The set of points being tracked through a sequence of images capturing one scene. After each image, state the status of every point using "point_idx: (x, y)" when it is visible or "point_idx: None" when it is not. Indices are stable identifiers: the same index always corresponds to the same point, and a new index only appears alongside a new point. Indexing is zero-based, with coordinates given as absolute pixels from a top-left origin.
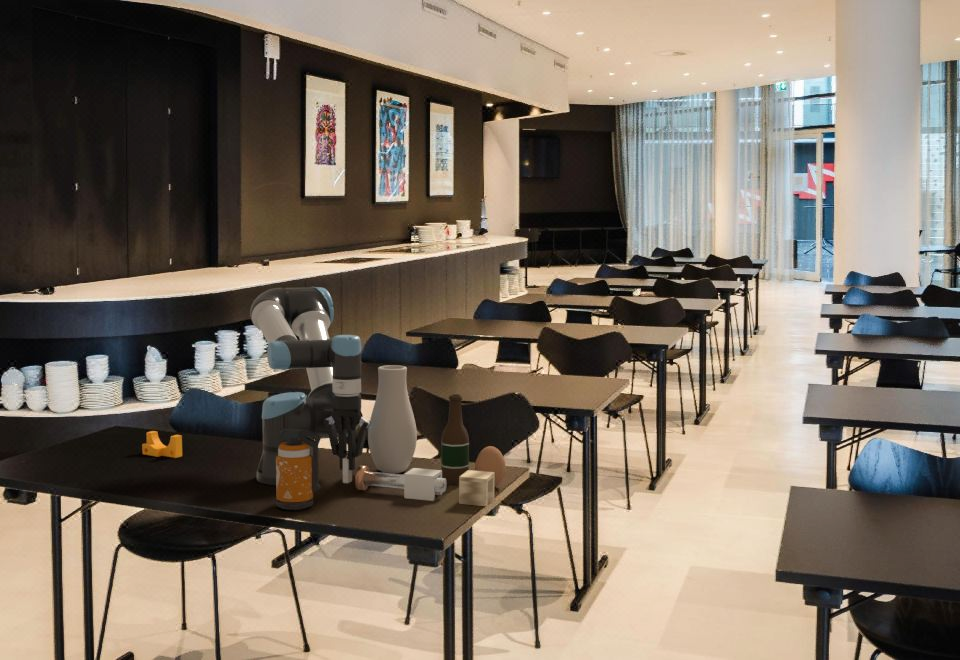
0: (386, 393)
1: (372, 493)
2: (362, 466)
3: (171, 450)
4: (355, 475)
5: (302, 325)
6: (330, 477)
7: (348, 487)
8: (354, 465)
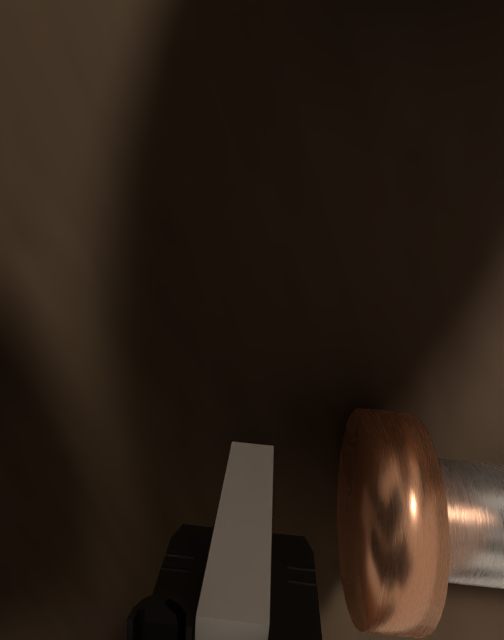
0: None
1: None
2: (412, 613)
3: None
4: (350, 614)
5: None
6: (7, 180)
7: (243, 404)
8: (313, 581)
